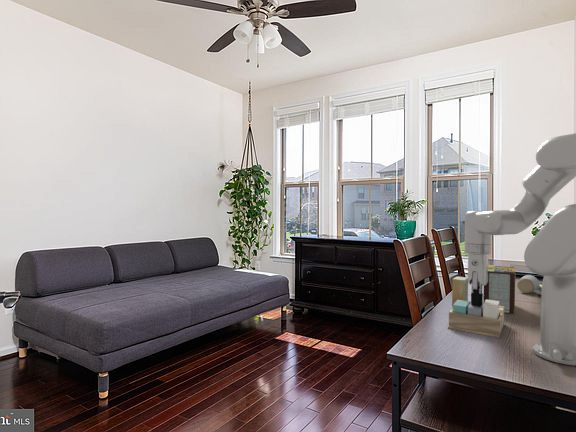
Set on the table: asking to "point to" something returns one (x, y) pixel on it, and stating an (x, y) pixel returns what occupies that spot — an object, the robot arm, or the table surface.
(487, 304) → the white rectangular block
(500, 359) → the table surface
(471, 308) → the slate key
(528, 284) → the ceramic mug
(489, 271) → the protein box
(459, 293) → the skincare box
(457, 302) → the teal key
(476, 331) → the tan wooden box
